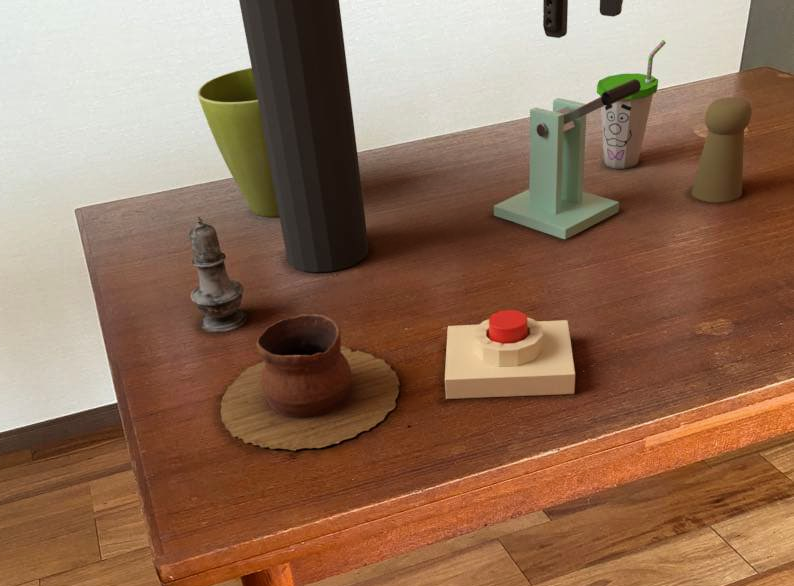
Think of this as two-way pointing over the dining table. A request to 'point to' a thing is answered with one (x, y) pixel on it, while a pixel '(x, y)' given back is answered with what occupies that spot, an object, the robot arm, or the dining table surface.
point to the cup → (626, 117)
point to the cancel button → (508, 327)
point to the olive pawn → (723, 151)
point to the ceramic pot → (307, 388)
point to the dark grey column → (308, 129)
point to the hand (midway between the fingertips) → (583, 25)
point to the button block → (509, 362)
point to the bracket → (556, 179)
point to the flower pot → (241, 136)
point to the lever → (600, 102)
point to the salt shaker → (214, 283)
